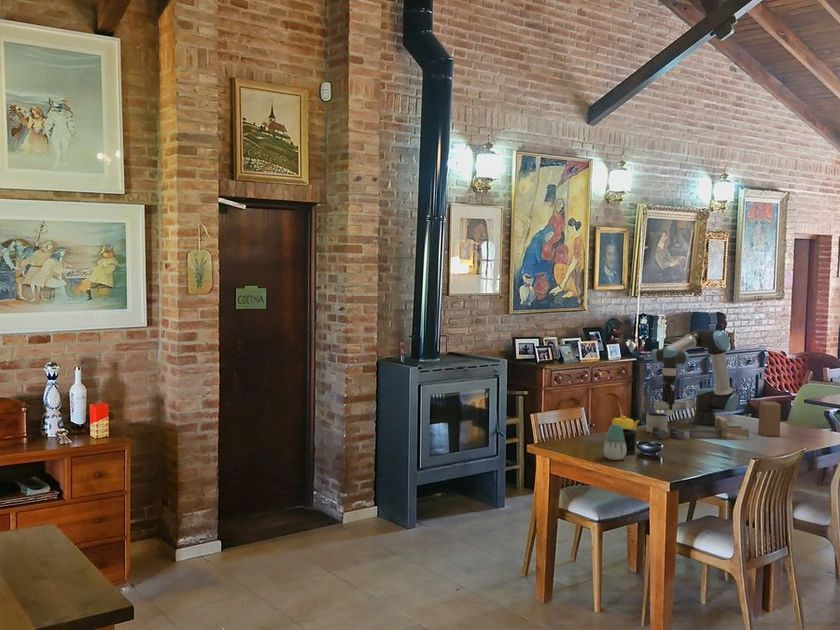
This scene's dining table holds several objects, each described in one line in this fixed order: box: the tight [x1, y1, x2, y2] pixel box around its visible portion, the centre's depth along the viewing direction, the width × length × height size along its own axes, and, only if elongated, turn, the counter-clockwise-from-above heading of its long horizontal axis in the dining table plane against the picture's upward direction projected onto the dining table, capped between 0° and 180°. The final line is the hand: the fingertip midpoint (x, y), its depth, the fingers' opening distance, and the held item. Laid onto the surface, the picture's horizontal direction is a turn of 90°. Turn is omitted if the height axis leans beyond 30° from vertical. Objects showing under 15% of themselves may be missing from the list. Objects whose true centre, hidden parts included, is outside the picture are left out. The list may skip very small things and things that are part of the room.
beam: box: [688, 416, 750, 441], centre depth 479 cm, size 9×35×12 cm, turn 96°
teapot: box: [611, 415, 640, 431], centre depth 473 cm, size 14×20×13 cm
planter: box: [645, 412, 669, 434], centre depth 493 cm, size 13×13×11 cm
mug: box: [623, 429, 638, 455], centre depth 434 cm, size 11×15×12 cm
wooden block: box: [757, 400, 782, 438], centre depth 492 cm, size 10×10×20 cm
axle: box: [652, 400, 687, 411], centre depth 475 cm, size 18×5×5 cm, turn 96°
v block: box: [651, 426, 685, 441], centre depth 476 cm, size 11×15×6 cm
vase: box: [603, 423, 627, 461], centre depth 417 cm, size 12×12×18 cm
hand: (667, 414), depth 475 cm, fingers closed on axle, 5 cm apart
